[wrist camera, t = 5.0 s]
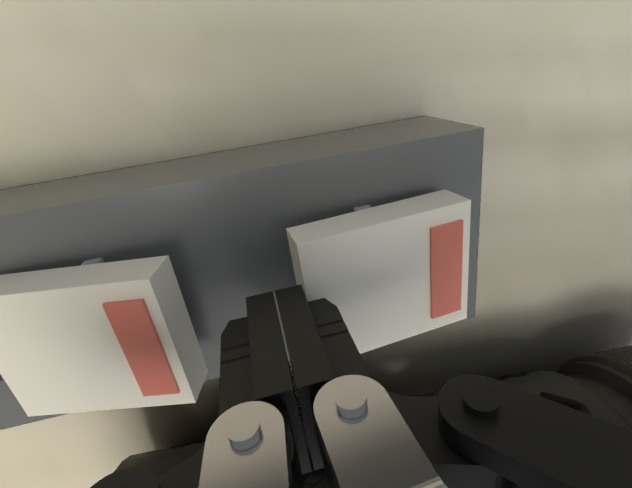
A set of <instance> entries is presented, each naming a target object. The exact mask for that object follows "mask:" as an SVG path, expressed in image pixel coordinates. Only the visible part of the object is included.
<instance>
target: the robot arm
mask: <svg viewBox="0 0 632 488" xmlns="http://www.w3.org/2000/svg"><path fill="white" fill-rule="evenodd" d="M275 294H276V299H277V303H278V308H279V312H280V317H281V322H282V326H283V331H284V335H285V340H286V344H287V349H288V353H289V358H290V362H291V367H292V371H293V376H294V380H295V385H296V389H297V394H298V398H299V403H300V408H301V412H302V417H303V421H304V426H305V430H306V435H307V439H308V444H309V448H310V453H311V457H312V462H313V466H314V471H315V470H318V469H321V468H324V470H325V474H326V478H327V482H328V486H329V488H632V431H631V430H628V429H626V428H623V427H620V426H618V425H615V424H612V423H610V422H607V421H605V420H602V419H599V418H597V417H594V416H591V415H589V414H586V413H583V412H581V411H578V410H575V409H573V408H570V407H568V406H565V405H562V404H560V403H557V402H554V401H552V400H549V399H546V398H544V397H541V396H539V395H536V394H533V393H531V392H528V391H525V390H523V389H520V388H517V387H515V386H512V385H510V384H507V383H504V382H502V381H499V380H496V379H494V378H491V377H487V376H483V375H475V374H468V375H461V376H457V377H454V378H452V379H450V380H448V381H447V382H446V383H445V384H444V385H443V386H442V387H441V389H440V391H439V394H438V396H404V395H399V394H395V393H392V392H390V391H388V390H386V389H384V387H383V386H382V385H381V384H379V383H378V382H377V381H375V380H373V379H372V377H371V376H370V374H369V372H368V370H367V368H366V366H365V364H364V362H363V360H362V357H361V355H360V353H359V351H358V349H357V347H356V345H355V343H354V341H353V339H352V337H351V334H350V332H349V331H348V328H347V326H346V324H345V322H344V321H343V318H342V316H341V314H340V311H339V309H338V307H337V306H336V305H334V304H333V303H331V302H330V301H328V300H327V299H325V298H321V299H317V300H313V301H309V302H307V299H306V297H305V294H304V291H303V288H302V285H301V284H300V285H296V286H292V287H287V288H283V289H279V290H275ZM246 308H247V317H243V318H239V319H234V320H230V321H229V322H228V324H227V326H226V327H225V329H224V331H223V332H222V334H221V347H220V350H221V353H220V364H221V365H220V385H219V416H218V418H217V419H216V421H215V422H214V423H213V424H212V426H211V428H210V429H209V431H208V434H207V436H206V441H205V445H204V446H203V447H202V448H201V449H200V450H199V451H198V452H197V453H196V454H195V455H193V456H192V457H191V458H189V459H188V460H186V461H185V462H183V463H181V464H180V465H178V466H176V467H175V468H173V469H171V470H169V471H168V472H166V473H164V474H163V475H161V476H159V477H158V478H156V477H155V475H154V474H153V473H152V472H150V471H149V470H147V469H144V468H140V467H131V468H125V469H121V470H119V471H116V472H113V473H112V474H110V475H108V476H106V477H104V478H103V479H101V480H100V481H98V482H97V483H96V484H94V485H93V486H92V487H91V488H305V487H304V481H303V476H302V474H306V473H309V472H312V470H311V465H310V461H309V456H308V451H307V447H306V442H305V437H304V433H303V428H302V423H301V418H300V414H299V409H298V404H297V400H296V395H295V390H294V386H293V381H292V376H291V372H290V367H289V362H288V358H287V353H286V348H285V344H284V339H283V335H282V330H281V326H280V321H279V317H278V312H277V308H276V303H275V299H274V294H273V291H270V292H266V293H262V294H258V295H253V296H249V297H246Z"/></svg>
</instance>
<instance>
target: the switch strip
mask: <svg viewBox="0 0 632 488" xmlns="http://www.w3.org/2000/svg"><path fill="white" fill-rule="evenodd" d="M483 134H484V128H481V127H477V126H472V125H467V124H462V123H458V122H453V121H448V120H444V119H439V118H434V117H430V116H421V117H415V118H409V119H403V120H398V121H392V122H386V123H380V124H375V125H369V126H363V127H358V128H352V129H346V130H340V131H335V132H329V133H323V134H317V135H312V136H306V137H300V138H295V139H289V140H283V141H277V142H272V143H266V144H260V145H254V146H249V147H243V148H237V149H232V150H226V151H220V152H214V153H209V154H203V155H197V156H191V157H186V158H180V159H174V160H169V161H163V162H157V163H151V164H146V165H140V166H134V167H128V168H123V169H117V170H111V171H106V172H100V173H94V174H88V175H83V176H77V177H71V178H65V179H60V180H54V181H48V182H43V183H37V184H31V185H25V186H20V187H14V188H8V189H2V190H0V275H3V274H12V273H20V272H29V271H37V270H46V269H55V268H63V267H72V266H81V265H89V264H98V263H106V262H115V261H124V260H132V259H141V258H149V257H158V256H167V255H169V258H170V261H171V264H172V267H173V270H174V273H175V276H176V279H177V282H178V285H179V288H180V290H181V293H182V296H183V299H184V302H185V305H186V308H187V311H188V314H189V317H190V320H191V322H192V325H193V328H194V331H195V334H196V337H197V340H198V343H199V346H200V349H201V352H202V355H203V357H204V360H205V363H206V366H207V369H208V373H207V375H206V378H205V381H207V380H212V379H216V378H220V365H221V364H220V353H221V350H220V347H221V334H222V332H223V331H224V329H225V327H226V326H227V324H228V322H229V321H230V320H234V319H239V318H243V317H247V308H246V297H249V296H253V295H258V294H262V293H266V292H270V291H273V294H274V299H275V303H276V308H277V312H278V317H279V321H280V326H281V330H282V335H283V339H284V344H285V348H286V353H287V358H288V361H290V358H289V353H288V349H287V344H286V340H285V335H284V331H283V326H282V322H281V317H280V312H279V308H278V303H277V299H276V294H275V290H279V289H283V288H287V287H292V286H296V279H295V274H294V269H293V263H292V258H291V253H290V247H289V242H288V237H287V232H286V228H290V227H294V226H298V225H302V224H307V223H311V222H315V221H319V220H323V219H327V218H331V217H335V216H339V215H343V214H347V213H351V212H355V211H359V210H363V209H367V208H371V207H375V206H379V205H383V204H387V203H391V202H395V201H400V200H404V199H408V198H412V197H416V196H420V195H424V194H428V193H432V192H436V191H440V190H444V189H446V190H448V191H451V192H453V193H456V194H458V195H460V196H463V197H465V198H468V199H470V200H471V216H470V243H469V270H468V298H467V318H466V319H468V318H472V317H475V301H476V280H477V259H478V238H479V217H480V197H481V176H482V155H483ZM463 320H464V319H463ZM66 414H69V413H66ZM60 415H65V414H54V415H42V416H30V417H28V416H27V414H26V412H25V411H24V409H23V408H22V406H21V405H20V403H19V402H18V400H17V399H16V397H15V396H14V394H13V393H12V391H11V390H10V388H9V386H8V385H7V383H6V382H5V380H4V379H3V377H2V376H1V374H0V430H1V429H6V428H10V427H14V426H18V425H22V424H27V423H31V422H35V421H39V420H44V419H48V418H52V417H56V416H60Z"/></svg>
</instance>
